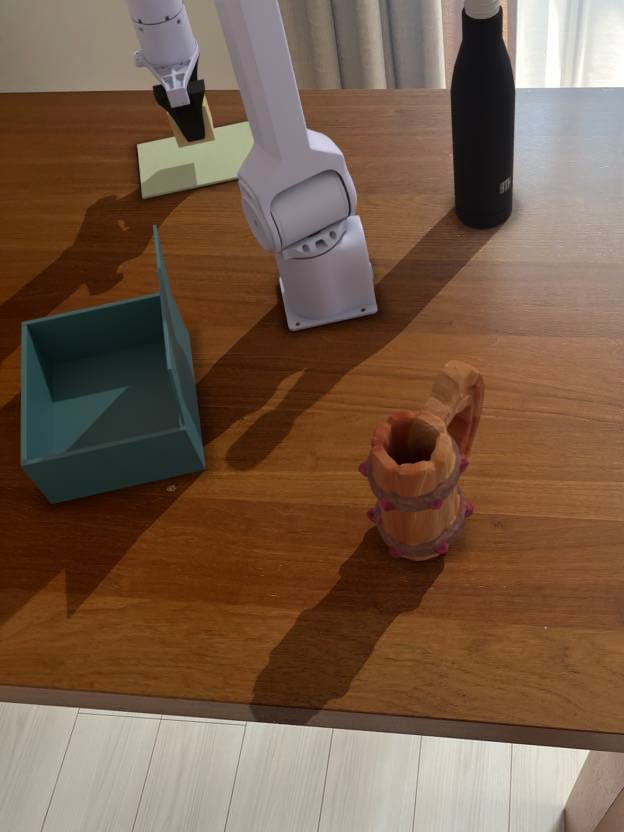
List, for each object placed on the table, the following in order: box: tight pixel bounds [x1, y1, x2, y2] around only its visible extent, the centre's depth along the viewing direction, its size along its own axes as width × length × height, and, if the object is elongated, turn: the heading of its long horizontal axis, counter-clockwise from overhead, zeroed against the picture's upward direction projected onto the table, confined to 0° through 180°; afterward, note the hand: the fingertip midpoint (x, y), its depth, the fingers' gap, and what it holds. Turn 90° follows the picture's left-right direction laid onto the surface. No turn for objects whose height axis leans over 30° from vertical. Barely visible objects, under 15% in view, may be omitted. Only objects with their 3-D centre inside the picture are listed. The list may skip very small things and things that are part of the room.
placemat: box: [137, 120, 254, 200], centre depth 108 cm, size 16×10×1 cm, turn 102°
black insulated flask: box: [449, 0, 516, 230], centre depth 86 cm, size 6×6×30 cm
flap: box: [152, 224, 185, 425], centre depth 80 cm, size 7×18×1 cm
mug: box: [357, 359, 486, 562], centre depth 74 cm, size 15×8×15 cm, turn 148°
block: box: [166, 94, 215, 148], centre depth 103 cm, size 4×4×4 cm
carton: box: [20, 291, 206, 505], centre depth 86 cm, size 15×18×6 cm
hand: (194, 125), depth 104 cm, fingers closed on block, 4 cm apart
